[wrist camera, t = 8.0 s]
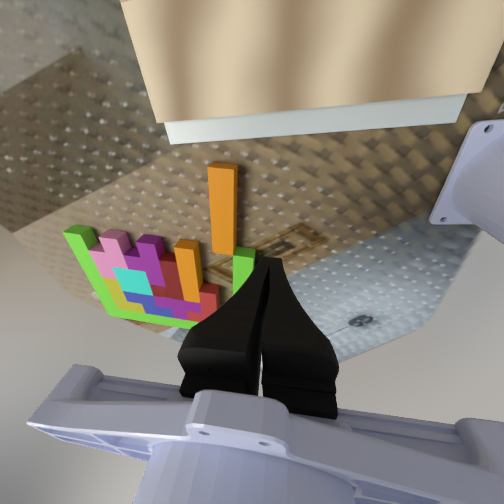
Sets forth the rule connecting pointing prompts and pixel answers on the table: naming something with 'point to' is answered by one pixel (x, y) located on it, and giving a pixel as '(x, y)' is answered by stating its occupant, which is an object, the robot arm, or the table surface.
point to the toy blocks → (165, 264)
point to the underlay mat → (319, 120)
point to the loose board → (308, 52)
